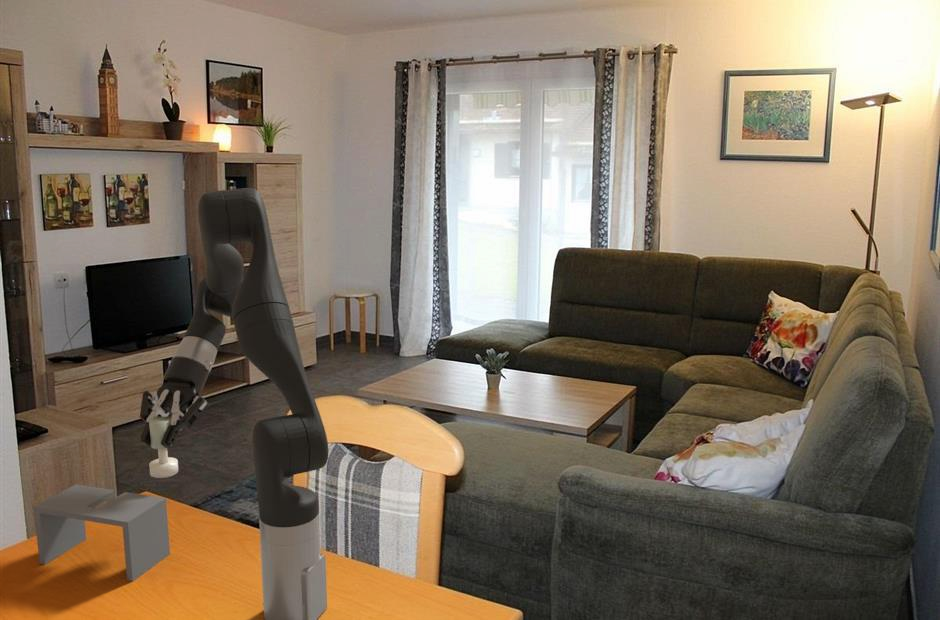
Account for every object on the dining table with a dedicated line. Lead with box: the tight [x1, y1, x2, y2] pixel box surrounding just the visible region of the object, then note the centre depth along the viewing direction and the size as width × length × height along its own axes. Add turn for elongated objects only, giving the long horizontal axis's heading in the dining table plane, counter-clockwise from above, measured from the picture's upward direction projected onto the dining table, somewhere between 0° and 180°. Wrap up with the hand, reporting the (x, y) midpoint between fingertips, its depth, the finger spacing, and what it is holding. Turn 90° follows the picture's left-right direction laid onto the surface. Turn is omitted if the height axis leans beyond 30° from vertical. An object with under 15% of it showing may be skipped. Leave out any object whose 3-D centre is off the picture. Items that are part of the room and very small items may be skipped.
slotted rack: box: [33, 483, 171, 582], centre depth 144 cm, size 20×10×11 cm, turn 73°
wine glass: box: [148, 416, 179, 479], centre depth 149 cm, size 5×5×10 cm
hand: (155, 444), depth 147 cm, fingers closed on wine glass, 3 cm apart
